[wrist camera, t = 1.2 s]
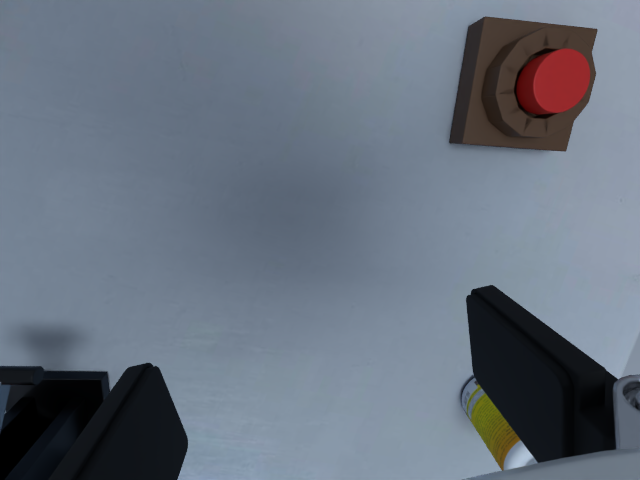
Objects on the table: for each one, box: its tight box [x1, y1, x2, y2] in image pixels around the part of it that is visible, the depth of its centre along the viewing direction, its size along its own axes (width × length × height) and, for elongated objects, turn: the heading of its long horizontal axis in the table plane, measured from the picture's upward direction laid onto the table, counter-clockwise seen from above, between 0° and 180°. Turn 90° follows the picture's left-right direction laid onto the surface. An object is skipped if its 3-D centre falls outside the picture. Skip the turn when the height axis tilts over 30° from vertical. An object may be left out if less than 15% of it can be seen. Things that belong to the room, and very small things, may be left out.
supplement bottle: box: [462, 378, 538, 471], centre depth 30 cm, size 6×6×10 cm
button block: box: [450, 17, 597, 151], centre depth 25 cm, size 8×8×4 cm
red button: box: [516, 48, 590, 114], centre depth 22 cm, size 4×4×2 cm
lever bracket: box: [0, 371, 109, 480], centre depth 26 cm, size 8×8×12 cm
